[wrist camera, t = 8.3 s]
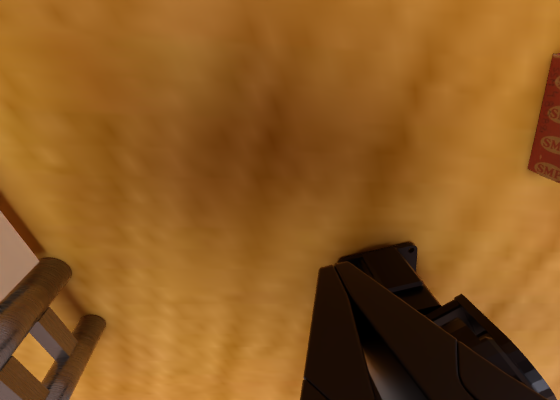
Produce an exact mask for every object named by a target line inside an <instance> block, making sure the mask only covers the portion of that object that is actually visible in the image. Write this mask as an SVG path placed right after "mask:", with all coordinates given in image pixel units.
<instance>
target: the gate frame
mask: <svg viewBox="0 0 560 400" xmlns="http://www.w3.org/2000/svg"><path fill="white" fill-rule="evenodd" d="M71 274H72V272H71V269H70V267H69V266H68V265H67V264H66V263H64V262H63V261H61V260H58V259H55V258H43V259H40V260H39V262H38V263H37V264H36V266H35V267H34V268H33V269H32V270H31V271H30V272H29V273H28V274H27V275H26V276H25V277H24V278H23V279H22V280H21V281H20V282H19V283H18V284H17V285H16V286H15V287H14V288H13V289H12V290H11V291H10V292H9V293H8V295H7V296H6V297H5V298H4V299H3V300H2V301H1V302H0V400H69V399H70V397H71V395H72V393H73V391H74V389H75V387H76V385H77V383H78V381H79V379H80V377H81V375H82V373H83V371H84V369H85V367H86V365H87V363H88V361H89V359H90V357H91V355H92V353H93V351H94V349H95V347H96V345H97V343H98V341H99V339H100V337H101V335H102V333H103V330H104V328H105V326H106V322H105V321H104V319H102V318H101V317H99V316H96V315H86V316H83V317H82V318H81V319H80V320H79V322H78V323H77V325H76V327H75V328H74V330H73V332H72V333H71V332H70V331H69V330H68V328H67V327H66V326H65V325H64V324H63V322H62V321H61V320H60V319H59V318H58V316H57V315H56V314H55V313H54V312H53V310H52V309H51V308H50V307H49V305H50V304H51V303H52V301H53V300H54V299H55V297H56V296H57V295H58V293H59V292H60V291H61V289H62V288H63V287H64V286H65V284H66V283H67V282H68V280H69V279H70V277H71ZM28 333H30V334H31V335H32V336H33V337H34V338H35V339H36V340H37V341H38V342H39V343H40V344H41V345H42V346H43V347H44V349H45V350H46V351H47V352H48V353H49V354H50V355H51V356H52V357H53V358H54V359H55V361H54V363H53V365H52V366H51V368H50V370H49V371H48V373H47V375H46V376H45V378H44V379H43V381H42V383H41V382H39V381H38V380H37V379H36V378H35V377H34V376H33V375H32V374H31V373H30V372H29V371H28V370H27V369H26V368H25V367H24V366H23V365H22V364H21V363H20V362H19V361H18V360H17V359H16V358H15V357H13V356H11V355H12V354H13V353H14V351H15V350H16V349H17V347H18V346H19V345H20V343H21V342H22V341H23V340H24V338H25V337H26V336H27V334H28Z"/></svg>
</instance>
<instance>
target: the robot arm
mask: <svg viewBox="0 0 560 400" xmlns="http://www.w3.org/2000/svg"><path fill="white" fill-rule="evenodd" d="M410 248H411V249H410ZM409 249H410V250H409ZM416 263H417V247H416V246H415V245H414V244H413V243H405V244H401V245H396V246H392V247H388V248H383V249H379V250H375V251H370V252H366V253H361V254H357V255H353V256H348V257H344V258H341V259H340V260H339V261H338V263H337V264H335V265H334V266H333V265H329V266H325V267H321V268H320V269H319V273H318V280H317V287H316V294H315V301H314V308H313V315H312V322H311V329H310V336H309V343H308V350H307V357H306V364H305V371H304V380H303V383H302V390H301V397H300V400H557V399H556V397H555V395H554V393H553V392H552V390H551V389H550V387H549V386H548V385H547V383H546V382H545V380H544V379H543V378H542V376H541V375H540V374H539V373H538V371H537V370H536V369H535V368H534V366H533V365H532V364H531V363H530V362H529V360H528V359H527V358H526V357H525V356H524V355H523V353H522V352H521V351H520V350H519V349H518V348H517V347H516V346H515V345H514V344H513V342H512V341H511V340H510V339H509V338H508V337H507V336H506V335H505V334H504V333H503V332H501V331H500V330H499V329H498V328H497V327H496V326H495V325H494V324H493V323H492V322H491V321H490V320H489V319H488V318H487V317H486V316H485V315H484V314H482V313H481V312H480V311H479V310H478V309H477V308H476V307H475V306H474V305H473V304H472V303H471V302H470V301H469V300H468V299H467V298H466V297H465V296H463V295H462V294H460V295H458V296H456V297H455V298H454V300H452V301H450V302H449V303H447V304H445V305H443V306H441V305H440V303H439V302H438V301H437V300H436V298H435V297H434V296H433V295H432V293H431V292H430V291H429V289H428V288H427V287H426V286H425V284H424V283H423V281H422V280H421V278H420V277H419V276H418V275H417V273H416Z"/></svg>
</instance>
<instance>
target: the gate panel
mask: <svg viewBox="0 0 560 400" xmlns="http://www.w3.org/2000/svg"><path fill="white" fill-rule="evenodd" d="M38 262H39V260H38V259H37V257H36V256H35V255H34V253H33V252H32V251H31V249H30V248H29V247H28V246H27V244H26V243H25V242H24V240H23V239H22V238H21V237H20V235H19V234H18V233H17V231H16V230H15V229H14V228H13V226H12V225H11V224H10V222H9V221H8V220H7V218H6V217H5V216H4V215H3V213H2V212H1V211H0V302H1V301H2V300H3V299H4V298H5V297H6V296H7V295H8V293H9V292H10V291H11V290H12V289H13V288H14V287H15V286H16V285H17V284H18V283H19V282H20V281H21V280H22V279H23V278H24V277H25V276H26V275H27V274H28V273H29V272H30V271H31V270H32V269H33V268H34V267H35V266H36V264H37V263H38Z"/></svg>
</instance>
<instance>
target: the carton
mask: <svg viewBox="0 0 560 400" xmlns="http://www.w3.org/2000/svg"><path fill="white" fill-rule="evenodd" d="M528 169H529V170H531V171H533V172H535V173H537V174H539V175H541V176H544V177H546V178H548V179H551V180H553V181H555V182H558V183H560V53H558V54H553V56H552V62H551V66H550V71H549V75H548V80H547V84H546V89H545V94H544V98H543V102H542V107H541V112H540V116H539V121H538V125H537V130H536V134H535V139H534V143H533V147H532V152H531V156H530V160H529V164H528Z"/></svg>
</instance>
